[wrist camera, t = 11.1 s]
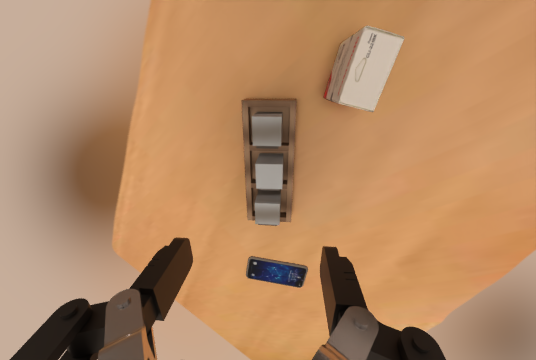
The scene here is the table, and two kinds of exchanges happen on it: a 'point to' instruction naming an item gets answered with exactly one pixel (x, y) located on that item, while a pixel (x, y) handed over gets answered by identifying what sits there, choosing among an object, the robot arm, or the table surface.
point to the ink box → (363, 68)
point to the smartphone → (276, 271)
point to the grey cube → (269, 171)
